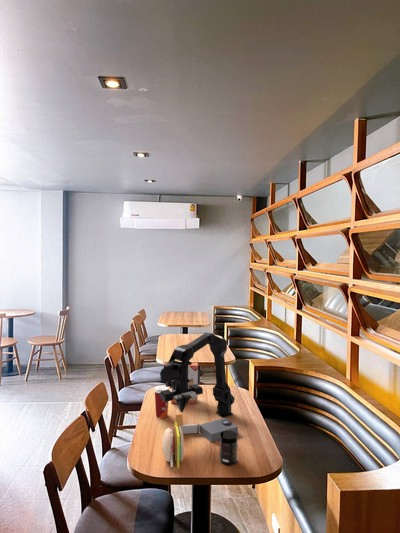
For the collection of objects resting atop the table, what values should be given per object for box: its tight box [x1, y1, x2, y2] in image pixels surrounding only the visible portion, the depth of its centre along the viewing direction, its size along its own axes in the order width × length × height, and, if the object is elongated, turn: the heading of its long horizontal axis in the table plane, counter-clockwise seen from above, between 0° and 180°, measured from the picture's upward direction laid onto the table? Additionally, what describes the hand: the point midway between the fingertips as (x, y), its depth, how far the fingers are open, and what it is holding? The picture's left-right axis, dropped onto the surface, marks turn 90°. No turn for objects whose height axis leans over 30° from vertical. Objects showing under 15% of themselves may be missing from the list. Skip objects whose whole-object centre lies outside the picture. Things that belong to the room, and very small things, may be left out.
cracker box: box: [170, 362, 199, 405], centre depth 198 cm, size 14×6×21 cm, turn 89°
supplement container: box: [219, 430, 239, 466], centre depth 142 cm, size 7×7×10 cm
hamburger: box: [161, 421, 185, 469], centre depth 143 cm, size 12×8×12 cm
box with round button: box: [198, 417, 239, 443], centre depth 164 cm, size 14×10×4 cm
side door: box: [174, 412, 200, 435], centre depth 163 cm, size 1×11×9 cm, turn 98°
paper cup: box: [153, 384, 171, 419], centre depth 181 cm, size 8×8×14 cm
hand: (181, 411), depth 160 cm, fingers closed
